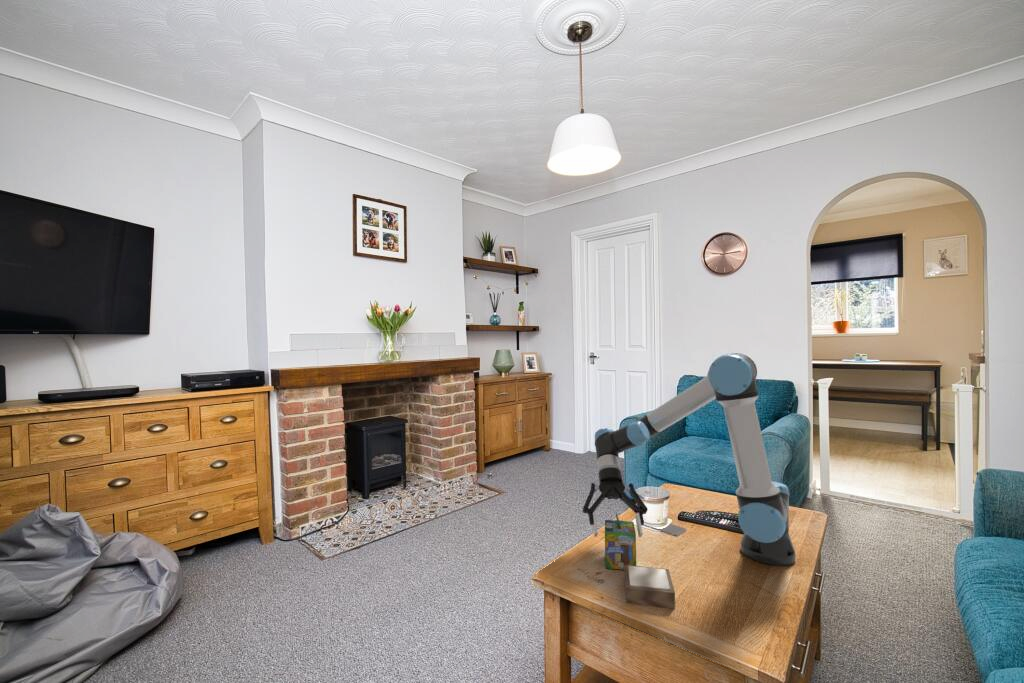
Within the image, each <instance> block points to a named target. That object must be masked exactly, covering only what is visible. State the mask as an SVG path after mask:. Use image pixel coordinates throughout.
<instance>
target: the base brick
mask: <svg viewBox="0 0 1024 683" xmlns="http://www.w3.org/2000/svg"><path fill="white" fill-rule="evenodd" d="M624 589H625V600H626V602H625V603H626V604H634V605H642V606H652V607H661V608H668V609H676V593H675V589H674V584H673V581H672V576H671V572H670V569H669V568H661V567H652V566H651V567H650V566H639V565H636V566H632V565H625V570H624Z"/></svg>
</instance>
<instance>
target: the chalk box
mask: <svg viewBox="0 0 1024 683" xmlns="http://www.w3.org/2000/svg"><path fill="white" fill-rule="evenodd" d="M615 518H616V519H613V520H612V519H605V520H604V566H605V569H607V570H619V571H620V570H621V571H625V565H632V566H637V535H636V528H635V523H634V522H633V521H626V520H620V519H619V516H618V513H617V512H615Z"/></svg>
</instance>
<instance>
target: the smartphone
mask: <svg viewBox="0 0 1024 683" xmlns="http://www.w3.org/2000/svg"><path fill="white" fill-rule="evenodd" d="M659 530H661V531H660V532H662V531H663V533H665V532H666V534H668V533H670V534H669V535H671V534H673V535H672V536H674V535H676V536H675V537H679V536H681V535H682V533H683V532H684V531H686V532H687V528H686V527H683V526H679V525H676V524H674V523H673V524H672V523H670V525H669V526H668V527H666V528H663V529H659ZM659 530H658V531H659ZM684 533H685V532H684ZM684 533H683V534H684ZM680 534H681V535H680ZM678 535H679V536H678Z"/></svg>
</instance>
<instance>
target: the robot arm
mask: <svg viewBox="0 0 1024 683" xmlns="http://www.w3.org/2000/svg"><path fill="white" fill-rule="evenodd" d="M757 377H758V368H757V365H756V363H755V362H754V360H753V359H752V358H751V357H749V356H748V355H746V354H743V353H737V352H735V353H726V354H722V355H720V356H718V357H717V358H716V359H714V360H713V362H711V364H710V366H709V368H708V372H707V375H706V376H705V377H703V378H702V379H701V380H699V381H698V382H696V383H694V384H693V385H691V386H690V387H688V388H687V389H685V390H683V391H682V392H680V393H679V394H677V395H675V396H674V397H673V398H672V397H671V399H669V400H668V401H666V402H665V403H663V404H661V405H660V406H658V407H656V408H655V409H653V410H652V411H650V412H649V413H647V414H646V415H644V416H642V417H641V418H639V419H638V420H636V421H634V422H631V423H629V424H628V425H625V426H622V427H621V428H619V429H617V430H613V429H612V428H608V427H605V428H599V429H598V430H597V431H596V432H595V433H594V447H595V453H596V462H597V472H598V479H599V484H595V483H594V482H592V483H591V484H590V490H589V494H588V496H587V498H586V500H585V503H584V504H583V507H582V513H583V514H587V515H588V521H589V525H590V526H591V525H592V527H593V529H592V530H593V537H594V538H595V537H598V525H597V515H596V512H595V511H596V510H597V508H598V507H599V506H600V505H601V504H602V502H603V501H604V500H605V499H608V500H612V499H613V500H618V499H619V500H621V502H624V503H625V504H626V505H627V507H629V509H631V511H632V512H634V513H635V523H636V524H635V525H636V529H637V536H638V538H642V536H643V528H642V526H644V525H643V524H644V520H645V519H644V516H643V515H646V514H647V512H648V507H647V505H646V504H645V503H644V502H643V500H642V499H641V497H640V496H639V494H638V493H637V492H636V489H635V488H634V484H633V483H631V482H630V483H629V484H626V485H624V482H623V475H622V471H621V463H620V458H619V454H620V453H623V452H625V451H628V450H630V449H633V448H636V447H638V446H642V445H644V444H646V443H648V442H649V441H650V439H652V438H653V437H654V436H656V435H658V434H659V433H661V432H663V431H665V430H666V429H667V428H669V427H671V426H672V425H674V424H676V423H677V422H679V421H681V420H682V419H684V418H685V417H688V416H689V415H691V414H693V413H694V412H696V411H697V410H699V409H701V408H703V407H704V406H706V405H708V404H709V403H711V402H713V401H714V400H716V402H717V403H718V404H720V405H721V406H722V407H723V411H724V416H725V417H724V418H725V422H726V425H727V431H728V436H729V440H730V445H731V449H732V453H733V454H732V455H733V460H734V464H735V468H736V474H737V478H738V482H739V486H738V488H737V489H735V494H736V500H737V506H738V508H739V509H738V510H739V511H738V514H737V519H738V524H739V527H740V528H741V530H742V531H743V535H742V538H741V541H740V551H741V553H742V554H744V556H746V557H747V558H749V559H752V560H754V561H756V562H759V563H762V564H767V565H770V566H771V565H772V566H781V567H782V566H790V565H792V564H794V563H795V562H796V549H795V547H794V545H793V542H792V539H791V536H790V531H789V528H790V514H789V513H790V507H789V506H790V500H789V499H790V492H789V491H790V490H789V487H788V486H787V485H786V484H785V483H782V482H778V481H775V480H774V481H772V476H771V471H770V467H769V463H768V462H769V461H768V457H767V453H766V448H765V444H764V440H763V435H762V430H761V426H760V420H759V417H758V413H757V408H756V404H755V402H756V401H757V400H758V398H759V397H760V395H759V390H758V385H757V381H756V379H757ZM598 490H599V492H600V494H599V496H598V497H597V499H596V500H595V502H594V503H593V504H592V505H591V506H590V504H591V502H592V500H593V497H594V494H595V493H596V492H597V491H598ZM625 490H626V492H627V493H629V495H630V496H631V498H632V499H631V498H630V497H629V496H628V494H626V492H625ZM589 506H590V508H589Z"/></svg>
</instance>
